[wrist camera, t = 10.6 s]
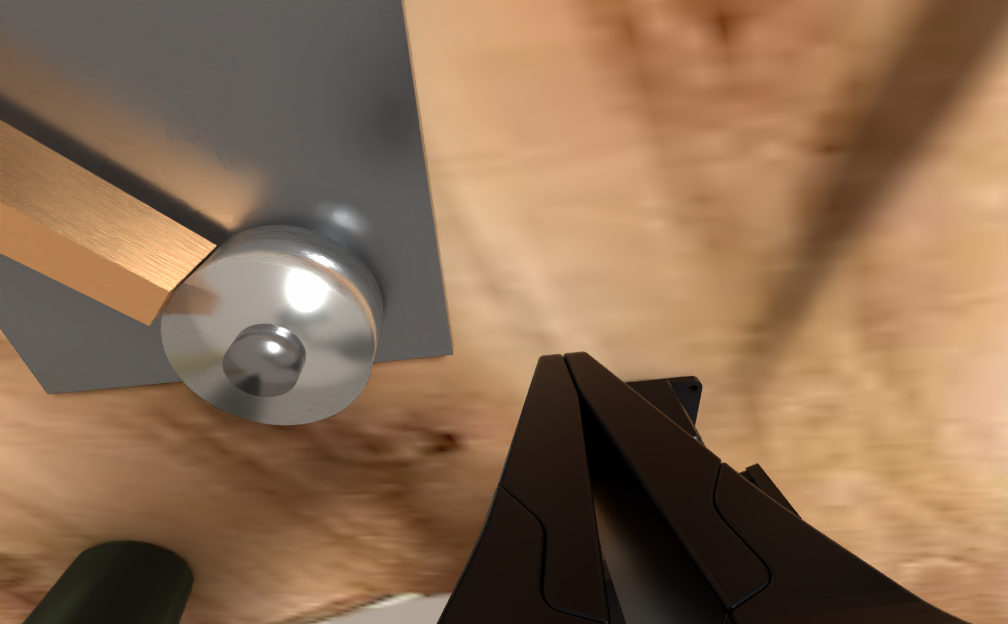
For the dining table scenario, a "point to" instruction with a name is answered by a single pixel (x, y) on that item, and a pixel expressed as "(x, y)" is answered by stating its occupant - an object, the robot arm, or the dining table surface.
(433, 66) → the dining table surface
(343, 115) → the chuck base plate
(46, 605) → the potion bottle
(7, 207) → the wooden bar
